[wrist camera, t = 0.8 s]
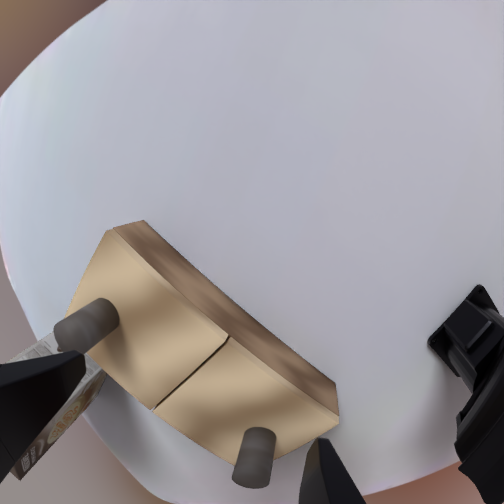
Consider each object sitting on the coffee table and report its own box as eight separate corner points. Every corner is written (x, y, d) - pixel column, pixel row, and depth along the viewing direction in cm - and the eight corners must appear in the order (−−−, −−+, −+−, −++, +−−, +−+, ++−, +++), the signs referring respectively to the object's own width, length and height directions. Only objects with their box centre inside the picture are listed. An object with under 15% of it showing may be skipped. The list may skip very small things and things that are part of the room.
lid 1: (228, 334, 17) (203, 384, 12) (154, 404, 20) (126, 445, 15) (113, 228, 17) (59, 244, 12) (67, 321, 19) (27, 347, 15)
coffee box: (98, 398, 27) (21, 483, 11) (60, 363, 27) (-25, 434, 11) (117, 355, 24) (11, 460, 9) (72, 314, 24) (-44, 391, 9)
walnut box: (335, 383, 21) (339, 415, 17) (256, 435, 24) (249, 465, 20) (143, 219, 21) (113, 227, 17) (94, 303, 23) (67, 320, 20)
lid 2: (338, 416, 17) (342, 469, 12) (248, 465, 20) (237, 509, 15) (231, 336, 17) (206, 386, 12) (156, 405, 20) (128, 446, 15)
